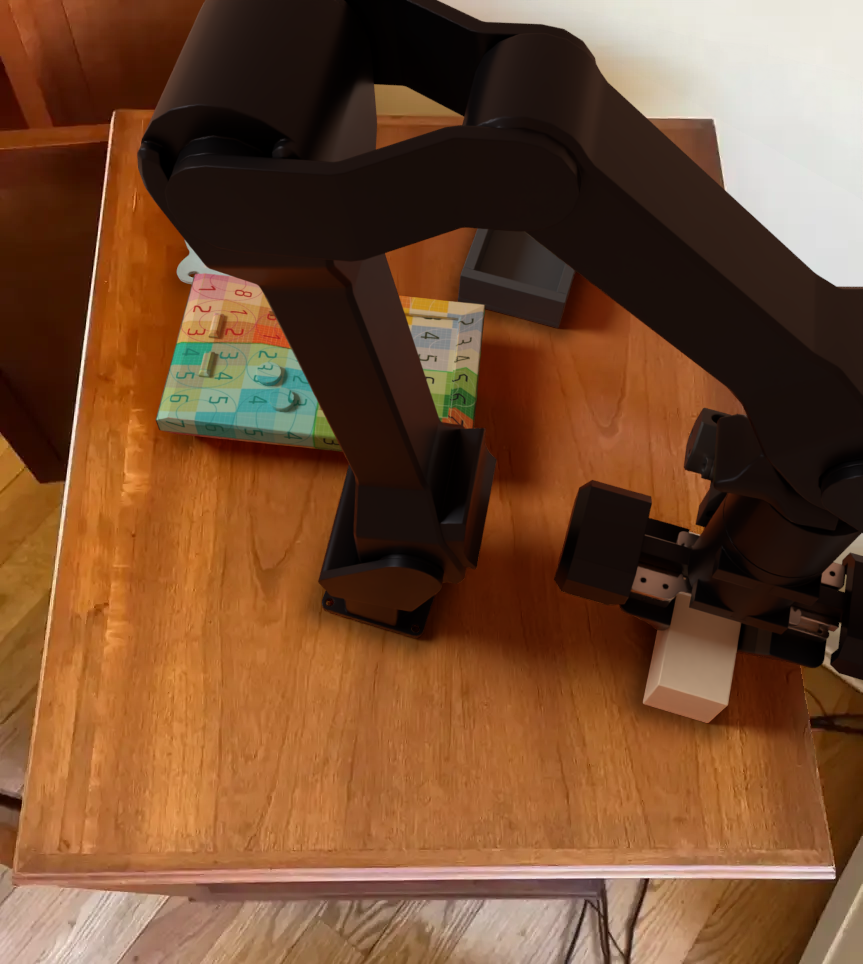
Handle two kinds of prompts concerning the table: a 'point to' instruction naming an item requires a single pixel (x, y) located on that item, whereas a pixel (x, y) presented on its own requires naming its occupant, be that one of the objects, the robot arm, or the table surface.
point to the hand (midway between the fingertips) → (694, 632)
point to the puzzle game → (294, 367)
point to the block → (693, 663)
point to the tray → (515, 277)
